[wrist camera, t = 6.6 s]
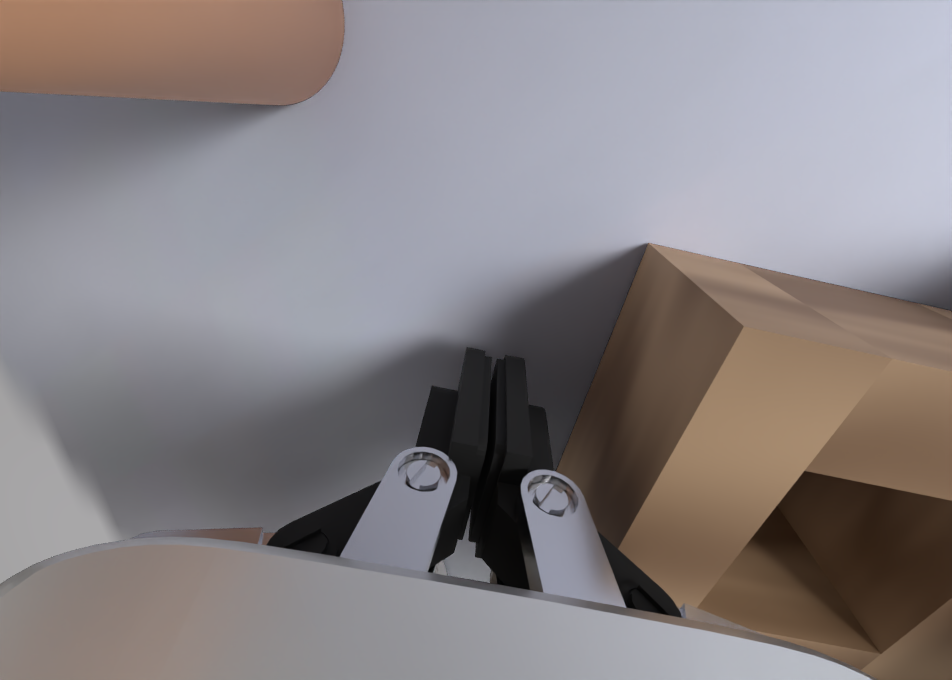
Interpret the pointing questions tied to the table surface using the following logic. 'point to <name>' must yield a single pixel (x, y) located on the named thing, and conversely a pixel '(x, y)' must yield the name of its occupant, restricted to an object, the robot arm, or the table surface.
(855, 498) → the block
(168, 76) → the peach rounded capsule
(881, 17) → the table surface
